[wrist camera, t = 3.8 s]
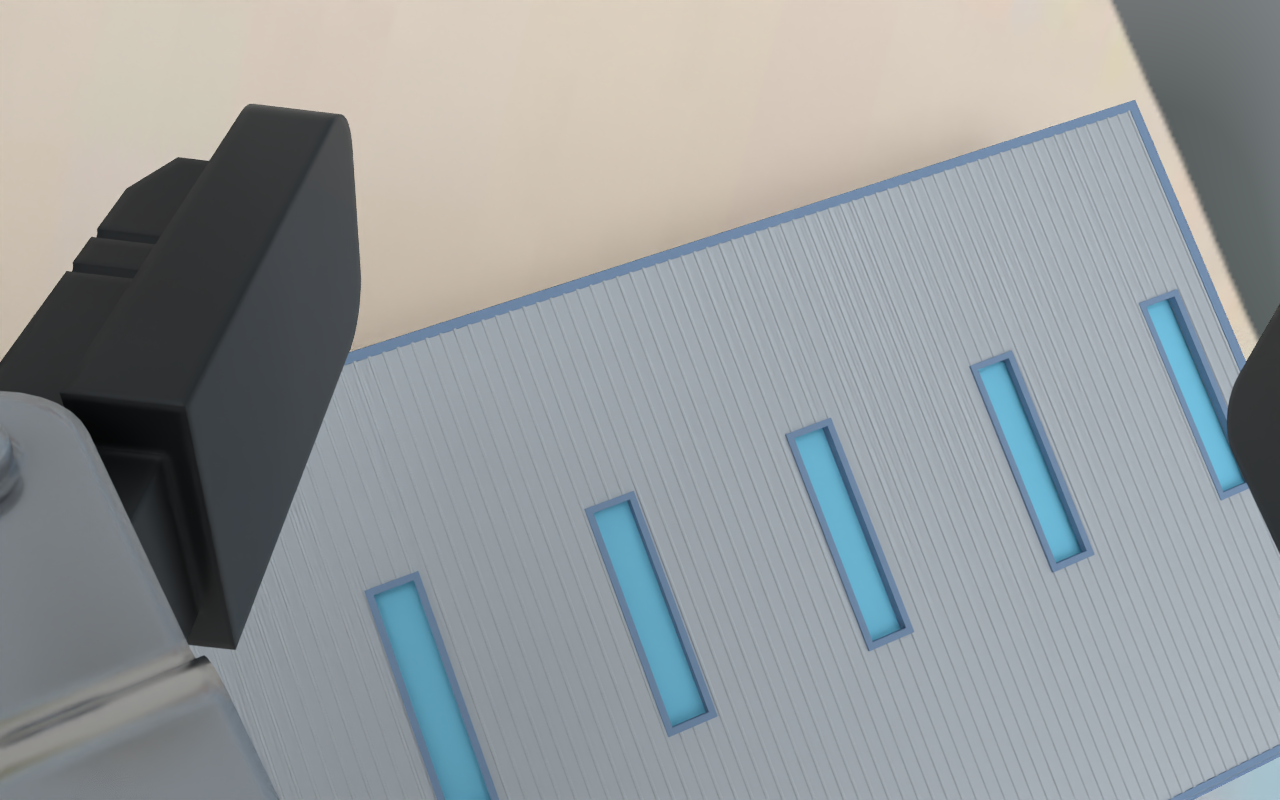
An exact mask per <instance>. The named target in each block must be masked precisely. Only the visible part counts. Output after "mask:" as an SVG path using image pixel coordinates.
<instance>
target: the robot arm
mask: <svg viewBox="0 0 1280 800" xmlns="http://www.w3.org/2000/svg"><path fill="white" fill-rule="evenodd" d="M360 290H361V272H360V256H359V241H358V226H357V211H356V195H355V180H354V165H353V150H352V139H351V133H350V128H349V124H348V122H347V119H346V118H345V117H344V116H343V115H341V114H333V113H325V112H316V111H308V110H300V109H291V108H283V107H275V106H266V105H258V104H249V105H247V106H246V107H245V108H244V109H243V110H242V111H241V113H240V114H239V116H238V118H237V119H236V121H235V122H234V124H233V125H232V127H231V128H230V130H229V131H228V133H227V135H226V136H225V138H224V139H223V141H222V142H221V144H220V145H219V147H218V148H217V150H216V151H215V153H214V155H213V156H212V158H211V159H210V161H204V160H196V159H187V158H179V157H178V158H176V159H174V160H173V161H171V162H169V163H168V164H166V165H165V166H163V167H161V168H160V169H158V170H156V171H155V172H153V173H151V174H150V175H148V176H146V177H145V178H143V179H142V180H140V181H138V182H137V183H135V184H133V185H132V186H130V187H128V188H127V189H126V190H125V191H124V193H123V194H122V195H121V197H120V198H119V200H118V201H117V202H116V204H115V205H114V206H113V208H112V209H111V211H110V212H109V213H108V215H107V216H106V217H105V219H104V220H103V222H102V223H101V224H100V226H99V227H98V229H97V238H96V237H91V238H90V240H89V241H88V242H87V244H86V245H85V246H84V248H83V249H82V251H81V252H80V253H79V255H78V256H77V257H76V259H75V260H74V262H73V270H72V272H70V271H66V273H65V274H64V275H63V277H62V278H61V279H60V281H59V282H58V284H57V285H56V286H55V288H54V289H53V290H52V292H51V293H50V295H49V296H48V297H47V299H46V300H45V301H44V303H43V304H42V306H41V307H40V308H39V310H38V311H37V312H36V314H35V315H34V317H33V318H32V319H31V321H30V322H29V323H28V325H27V326H26V328H25V329H24V330H23V332H22V333H21V334H20V336H19V337H18V339H17V340H16V341H15V343H14V344H13V345H12V347H11V348H10V350H9V351H8V352H7V354H6V355H5V357H4V358H3V359H2V361H1V362H0V800H280V799H279V797H278V795H277V793H276V791H275V789H274V787H273V785H272V783H271V781H270V778H269V776H268V774H267V772H266V770H265V768H264V766H263V764H262V762H261V760H260V758H259V756H258V753H257V751H256V749H255V747H254V745H253V743H252V741H251V739H250V737H249V735H248V733H247V731H246V729H245V726H244V724H243V722H242V720H241V718H240V716H239V714H238V712H237V710H236V708H235V706H234V704H233V701H232V699H231V697H230V695H229V693H228V691H227V689H226V687H225V685H224V683H223V682H222V680H221V678H220V676H219V674H218V672H217V671H216V669H215V668H214V666H213V664H212V663H211V662H210V660H209V659H208V658H207V657H206V656H205V655H203V656H201V657H198V658H195V656H194V654H193V653H192V651H191V649H190V647H189V645H193V646H203V647H212V648H221V649H231V650H236V648H237V645H238V642H239V640H240V637H241V635H242V632H243V629H244V627H245V624H246V621H247V619H248V616H249V614H250V611H251V608H252V606H253V603H254V600H255V598H256V595H257V593H258V590H259V587H260V585H261V582H262V579H263V577H264V574H265V572H266V569H267V566H268V564H269V561H270V558H271V556H272V553H273V551H274V548H275V545H276V543H277V540H278V537H279V535H280V532H281V529H282V527H283V524H284V522H285V519H286V516H287V514H288V511H289V508H290V506H291V503H292V501H293V498H294V495H295V493H296V490H297V487H298V485H299V482H300V480H301V477H302V474H303V472H304V469H305V466H306V464H307V461H308V459H309V456H310V453H311V451H312V448H313V445H314V443H315V440H316V438H317V435H318V432H319V430H320V427H321V424H322V422H323V419H324V417H325V414H326V411H327V409H328V406H329V403H330V401H331V398H332V396H333V393H334V390H335V388H336V385H337V382H338V380H339V377H340V375H341V372H342V369H343V367H344V364H345V361H346V359H347V356H348V354H349V351H350V348H351V345H352V342H353V338H354V335H355V330H356V325H357V319H358V313H359V304H360ZM1227 434H1228V440H1229V444H1230V448H1231V450H1232V453H1233V455H1234V457H1235V459H1236V461H1237V464H1238V466H1239V468H1240V470H1241V472H1242V474H1243V476H1244V479H1245V481H1246V483H1247V485H1248V487H1249V489H1250V491H1251V494H1252V496H1253V498H1254V500H1255V502H1256V504H1257V506H1258V509H1259V511H1260V513H1261V515H1262V517H1263V519H1264V521H1265V524H1266V526H1267V528H1268V530H1269V532H1270V534H1271V536H1272V539H1273V541H1274V543H1275V545H1276V547H1277V549H1278V551H1279V554H1280V305H1279V306H1278V308H1277V310H1276V312H1275V313H1274V315H1273V317H1272V318H1271V320H1270V322H1269V324H1268V325H1267V327H1266V329H1265V331H1264V332H1263V334H1262V336H1261V337H1260V339H1259V341H1258V342H1257V344H1256V346H1255V348H1254V349H1253V351H1252V353H1251V354H1250V356H1249V358H1248V360H1247V361H1246V363H1245V365H1244V366H1243V368H1242V370H1241V372H1240V373H1239V375H1238V377H1237V379H1236V381H1235V383H1234V386H1233V389H1232V391H1231V395H1230V399H1229V404H1228V410H1227Z"/></svg>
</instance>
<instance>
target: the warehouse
mask: <svg viewBox="0 0 1280 800" xmlns="http://www.w3.org/2000/svg"><path fill="white" fill-rule="evenodd" d="M1245 363H1246V361H1245V358H1244V356H1243V354H1242V351H1241V349H1240V346H1239V344H1238V342H1237V339H1236V337H1235V335H1234V332H1233V330H1232V328H1231V325H1230V323H1229V320H1228V318H1227V316H1226V313H1225V311H1224V309H1223V306H1222V304H1221V302H1220V299H1219V297H1218V295H1217V292H1216V290H1215V287H1214V285H1213V283H1212V280H1211V278H1210V276H1209V273H1208V271H1207V269H1206V266H1205V264H1204V261H1203V259H1202V257H1201V254H1200V252H1199V250H1198V247H1197V245H1196V243H1195V240H1194V238H1193V235H1192V233H1191V231H1190V228H1189V226H1188V224H1187V221H1186V219H1185V217H1184V214H1183V212H1182V210H1181V207H1180V205H1179V202H1178V200H1177V198H1176V195H1175V193H1174V191H1173V188H1172V186H1171V184H1170V181H1169V179H1168V176H1167V174H1166V172H1165V169H1164V167H1163V165H1162V162H1161V160H1160V158H1159V155H1158V153H1157V151H1156V148H1155V146H1154V143H1153V141H1152V139H1151V136H1150V134H1149V132H1148V129H1147V127H1146V125H1145V122H1144V120H1143V117H1142V115H1141V113H1140V110H1139V108H1138V106H1137V103H1136V101H1135V100H1133V101H1130V102H1127V103H1124V104H1121V105H1118V106H1115V107H1111V108H1108V109H1105V110H1102V111H1099V112H1096V113H1093V114H1090V115H1087V116H1083V117H1080V118H1077V119H1074V120H1071V121H1068V122H1065V123H1062V124H1059V125H1055V126H1052V127H1049V128H1046V129H1043V130H1040V131H1037V132H1034V133H1031V134H1027V135H1024V136H1021V137H1018V138H1015V139H1012V140H1009V141H1006V142H1003V143H999V144H996V145H993V146H990V147H987V148H984V149H981V150H978V151H975V152H971V153H968V154H965V155H962V156H959V157H956V158H953V159H950V160H947V161H943V162H940V163H937V164H934V165H931V166H928V167H925V168H922V169H919V170H915V171H912V172H909V173H906V174H903V175H900V176H897V177H894V178H891V179H887V180H884V181H881V182H878V183H875V184H872V185H869V186H866V187H863V188H859V189H856V190H853V191H850V192H847V193H844V194H841V195H838V196H835V197H831V198H828V199H825V200H822V201H819V202H816V203H813V204H810V205H807V206H803V207H800V208H797V209H794V210H791V211H788V212H785V213H782V214H779V215H775V216H772V217H769V218H766V219H763V220H760V221H757V222H754V223H750V224H747V225H744V226H741V227H738V228H735V229H732V230H729V231H726V232H722V233H719V234H716V235H713V236H710V237H707V238H704V239H701V240H698V241H694V242H691V243H688V244H685V245H682V246H679V247H676V248H673V249H670V250H666V251H663V252H660V253H657V254H654V255H651V256H648V257H645V258H642V259H638V260H635V261H632V262H629V263H626V264H623V265H620V266H617V267H614V268H610V269H607V270H604V271H601V272H598V273H595V274H592V275H589V276H586V277H582V278H579V279H576V280H573V281H570V282H567V283H564V284H561V285H558V286H554V287H551V288H548V289H545V290H542V291H539V292H536V293H533V294H530V295H526V296H523V297H520V298H517V299H514V300H511V301H508V302H505V303H502V304H498V305H495V306H492V307H489V308H486V309H483V310H480V311H477V312H474V313H470V314H467V315H464V316H461V317H458V318H455V319H452V320H449V321H446V322H442V323H439V324H436V325H433V326H430V327H427V328H424V329H421V330H418V331H414V332H411V333H408V334H405V335H402V336H399V337H396V338H393V339H390V340H386V341H383V342H380V343H377V344H374V345H371V346H368V347H365V348H362V349H358V350H355V351H352V352H349V354H348V356H347V359H346V361H345V364H344V367H343V369H342V372H341V375H340V377H339V380H338V382H337V385H336V388H335V390H334V393H333V396H332V398H331V401H330V403H329V406H328V409H327V411H326V414H325V417H324V419H323V422H322V424H321V427H320V430H319V432H318V435H317V438H316V440H315V443H314V445H313V448H312V451H311V453H310V456H309V459H308V461H307V464H306V466H305V469H304V472H303V474H302V477H301V480H300V482H299V485H298V487H297V490H296V493H295V495H294V498H293V501H292V503H291V506H290V508H289V511H288V514H287V516H286V519H285V522H284V524H283V527H282V529H281V532H280V535H279V537H278V540H277V543H276V545H275V548H274V551H273V553H272V556H271V558H270V561H269V564H268V566H267V569H266V572H265V574H264V577H263V579H262V582H261V585H260V587H259V590H258V593H257V595H256V598H255V600H254V603H253V606H252V608H251V611H250V614H249V616H248V619H247V621H246V624H245V627H244V629H243V632H242V635H241V637H240V640H239V642H238V645H237V648H236V650H231V649H221V648H212V647H203V646H193V645H189V647H190V649H191V651H192V653H193V654H194V656H195V658H198V657H201V656H203V655H205V656H206V657H207V658H208V659H209V660H210V662H211V663H212V664H213V666H214V668H215V669H216V671H217V672H218V674H219V676H220V678H221V680H222V682H223V683H224V685H225V687H226V689H227V691H228V693H229V695H230V697H231V699H232V701H233V704H234V706H235V708H236V710H237V712H238V714H239V716H240V718H241V720H242V722H243V724H244V726H245V729H246V731H247V733H248V735H249V737H250V739H251V741H252V743H253V745H254V747H255V749H256V751H257V753H258V756H259V758H260V760H261V762H262V764H263V766H264V768H265V770H266V772H267V774H268V776H269V778H270V781H271V783H272V785H273V787H274V789H275V791H276V793H277V795H278V797H279V799H280V800H1194V799H1196V798H1198V797H1200V796H1202V795H1204V794H1206V793H1208V792H1210V791H1212V790H1214V789H1216V788H1218V787H1220V786H1222V785H1224V784H1226V783H1228V782H1230V781H1232V780H1234V779H1236V778H1238V777H1240V776H1242V775H1244V774H1246V773H1248V772H1250V771H1252V770H1254V769H1256V768H1258V767H1260V766H1262V765H1264V764H1266V763H1268V762H1270V761H1272V760H1274V759H1276V758H1278V757H1280V554H1279V551H1278V549H1277V547H1276V545H1275V543H1274V541H1273V539H1272V536H1271V534H1270V532H1269V530H1268V528H1267V526H1266V524H1265V521H1264V519H1263V517H1262V515H1261V513H1260V511H1259V509H1258V506H1257V504H1256V502H1255V500H1254V498H1253V496H1252V494H1251V491H1250V489H1249V487H1248V485H1247V483H1246V481H1245V479H1244V476H1243V474H1242V472H1241V470H1240V468H1239V466H1238V464H1237V461H1236V459H1235V457H1234V455H1233V453H1232V450H1231V448H1230V444H1229V440H1228V434H1227V410H1228V404H1229V399H1230V395H1231V391H1232V389H1233V386H1234V383H1235V381H1236V379H1237V377H1238V375H1239V373H1240V372H1241V370H1242V368H1243V366H1244V365H1245Z"/></svg>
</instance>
